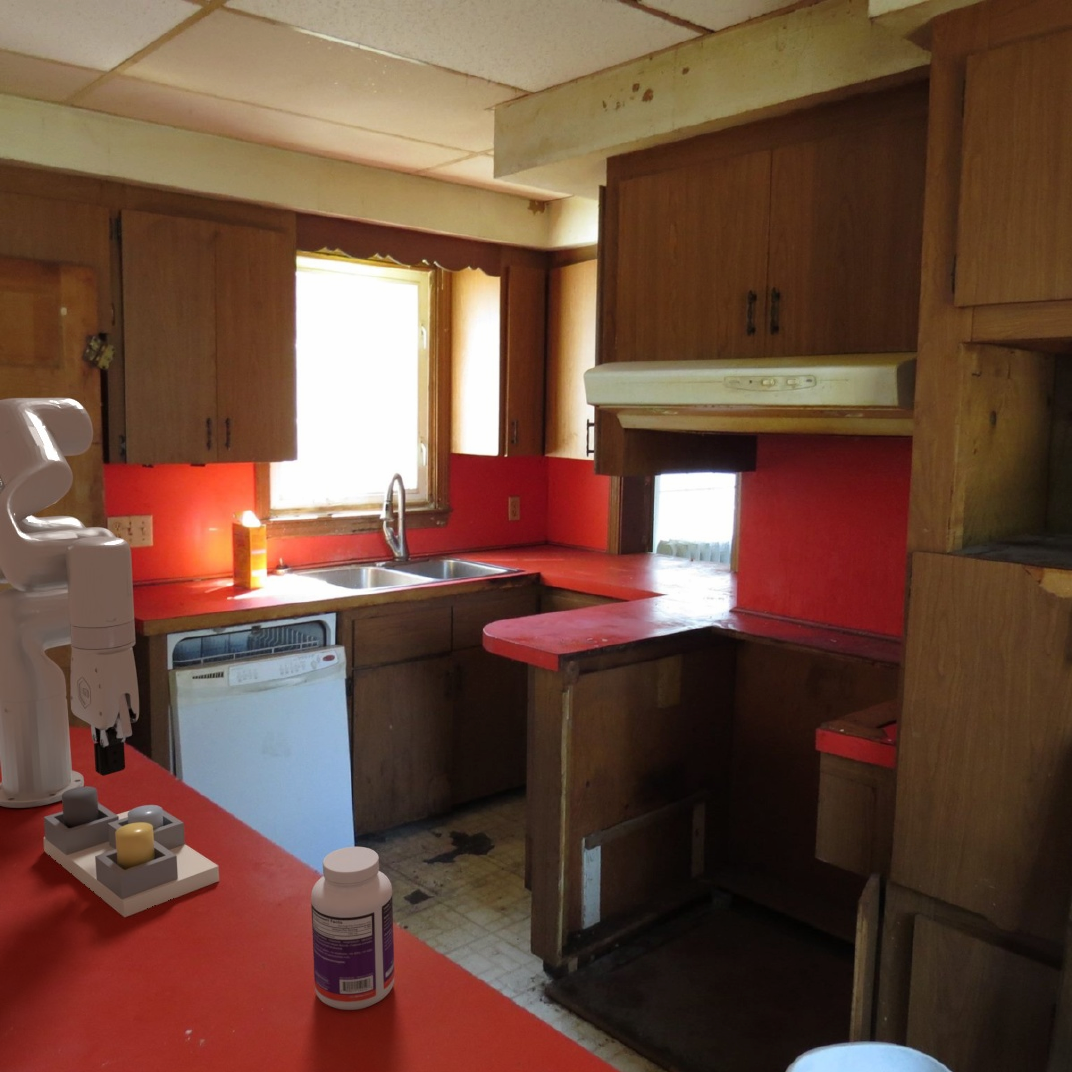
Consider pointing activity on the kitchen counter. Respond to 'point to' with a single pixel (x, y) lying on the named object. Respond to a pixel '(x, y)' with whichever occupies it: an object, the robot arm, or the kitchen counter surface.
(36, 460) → the robot arm
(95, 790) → the charcoal button
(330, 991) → the pill bottle
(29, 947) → the kitchen counter surface
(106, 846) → the console
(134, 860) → the mustard button
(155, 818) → the slate button
